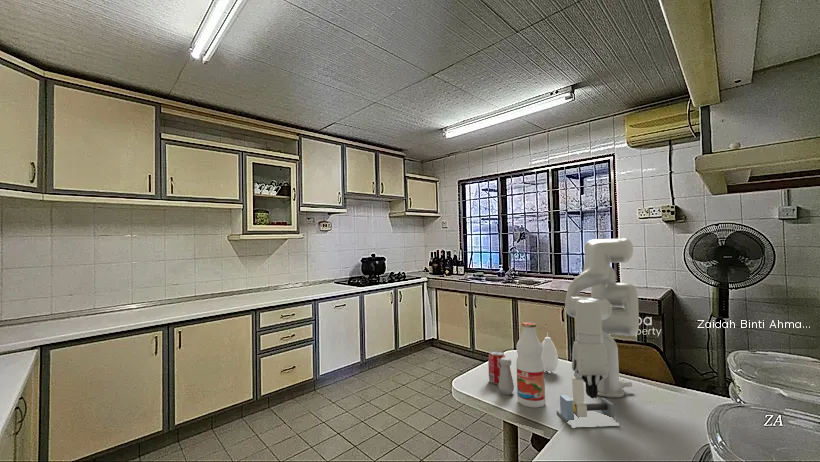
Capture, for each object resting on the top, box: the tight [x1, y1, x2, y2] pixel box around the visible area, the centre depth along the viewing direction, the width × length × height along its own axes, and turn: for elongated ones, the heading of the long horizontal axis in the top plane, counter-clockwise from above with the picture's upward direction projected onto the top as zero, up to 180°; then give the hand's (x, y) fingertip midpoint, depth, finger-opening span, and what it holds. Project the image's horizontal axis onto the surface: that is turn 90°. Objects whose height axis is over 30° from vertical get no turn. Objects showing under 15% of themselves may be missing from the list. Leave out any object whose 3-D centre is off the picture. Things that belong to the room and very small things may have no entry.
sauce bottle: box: [541, 331, 559, 372], centre depth 156 cm, size 8×8×18 cm
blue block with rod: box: [556, 394, 615, 424], centre depth 112 cm, size 15×10×7 cm, turn 93°
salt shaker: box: [497, 356, 515, 396], centre depth 134 cm, size 6×6×13 cm
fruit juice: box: [515, 321, 546, 409], centre depth 126 cm, size 9×9×28 cm
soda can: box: [487, 350, 506, 386], centre depth 145 cm, size 7×7×12 cm
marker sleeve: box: [570, 376, 588, 418], centre depth 112 cm, size 3×4×11 cm
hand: (591, 396), depth 112 cm, fingers closed
